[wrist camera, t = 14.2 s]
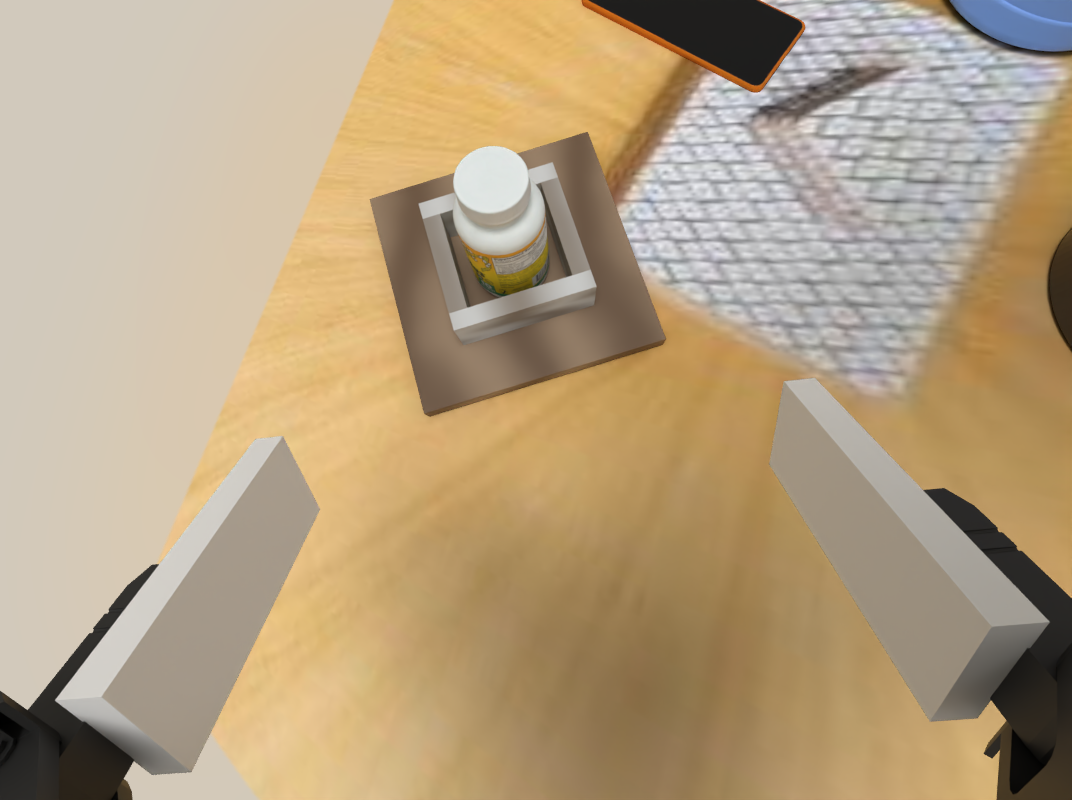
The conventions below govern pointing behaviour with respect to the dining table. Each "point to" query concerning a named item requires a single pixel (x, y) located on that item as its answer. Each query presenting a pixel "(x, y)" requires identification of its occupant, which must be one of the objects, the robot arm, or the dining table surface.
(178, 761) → the robot arm
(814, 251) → the dining table surface
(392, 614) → the dining table surface
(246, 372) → the dining table surface
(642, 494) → the dining table surface
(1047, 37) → the water jug
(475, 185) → the supplement bottle
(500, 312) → the square framed base tray
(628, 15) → the smartphone
